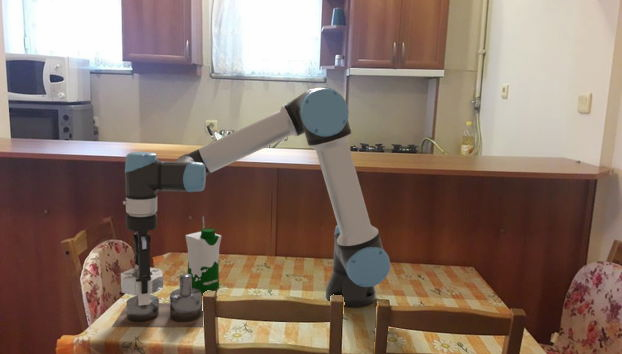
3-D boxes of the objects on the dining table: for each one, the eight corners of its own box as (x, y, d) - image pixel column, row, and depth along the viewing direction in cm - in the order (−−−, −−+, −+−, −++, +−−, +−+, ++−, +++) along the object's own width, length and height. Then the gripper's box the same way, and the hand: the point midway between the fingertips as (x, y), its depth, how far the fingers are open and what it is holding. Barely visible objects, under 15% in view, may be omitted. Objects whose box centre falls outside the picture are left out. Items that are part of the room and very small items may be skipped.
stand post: (173, 308, 131) (173, 270, 130) (203, 308, 132) (203, 270, 130) (167, 322, 124) (166, 281, 122) (198, 322, 124) (199, 281, 123)
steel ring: (120, 282, 128) (120, 269, 127) (159, 278, 132) (159, 265, 132) (122, 297, 119) (122, 283, 118) (164, 292, 123) (164, 279, 123)
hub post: (131, 308, 130) (130, 271, 129) (161, 308, 131) (161, 271, 129) (122, 322, 123) (121, 283, 121) (155, 322, 123) (154, 283, 122)
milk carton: (200, 300, 141) (201, 234, 138) (181, 291, 146) (181, 228, 143) (223, 292, 148) (224, 228, 144) (205, 283, 153) (205, 222, 150)
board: (127, 308, 134) (127, 302, 134) (215, 308, 136) (215, 303, 136) (111, 332, 120) (111, 326, 120) (209, 332, 122) (209, 326, 122)
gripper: (123, 204, 131) (124, 281, 135) (128, 225, 111) (129, 316, 114) (152, 202, 134) (152, 278, 138) (162, 223, 114) (162, 312, 117)
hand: (142, 296), depth 126 cm, fingers closed on steel ring, 10 cm apart
